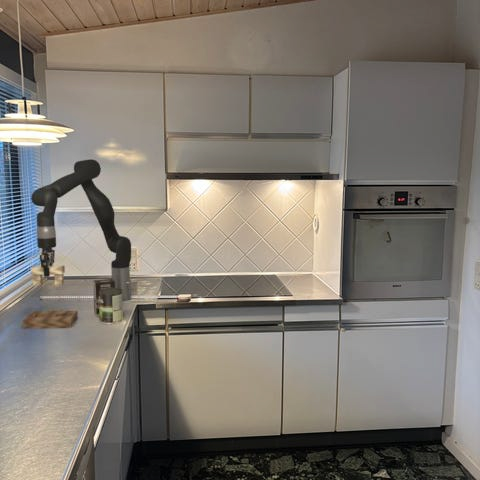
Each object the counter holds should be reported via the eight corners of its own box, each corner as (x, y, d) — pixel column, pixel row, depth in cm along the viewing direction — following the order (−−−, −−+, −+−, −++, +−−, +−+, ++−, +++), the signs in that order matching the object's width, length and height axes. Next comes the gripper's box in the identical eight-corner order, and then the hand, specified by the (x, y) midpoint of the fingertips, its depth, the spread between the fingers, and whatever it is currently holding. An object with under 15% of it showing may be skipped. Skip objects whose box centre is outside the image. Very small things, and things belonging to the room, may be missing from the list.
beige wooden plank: (65, 283, 213) (64, 265, 212) (62, 285, 209) (62, 267, 208) (34, 283, 212) (33, 265, 211) (31, 285, 208) (30, 267, 207)
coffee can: (101, 325, 211) (100, 294, 209) (98, 318, 221) (97, 288, 219) (125, 322, 215) (124, 292, 213) (121, 316, 225) (120, 286, 223)
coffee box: (96, 317, 223) (95, 283, 220) (93, 313, 229) (92, 280, 226) (116, 314, 227) (115, 281, 225) (113, 310, 233) (112, 278, 230)
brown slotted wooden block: (77, 318, 220) (77, 310, 219) (71, 327, 208) (70, 318, 208) (32, 319, 218) (31, 311, 218) (23, 328, 206) (22, 319, 206)
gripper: (50, 238, 200) (52, 279, 203) (60, 233, 214) (61, 271, 217) (31, 238, 200) (34, 279, 202) (42, 233, 214) (44, 271, 216)
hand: (48, 275), depth 210 cm, fingers closed on beige wooden plank, 4 cm apart
